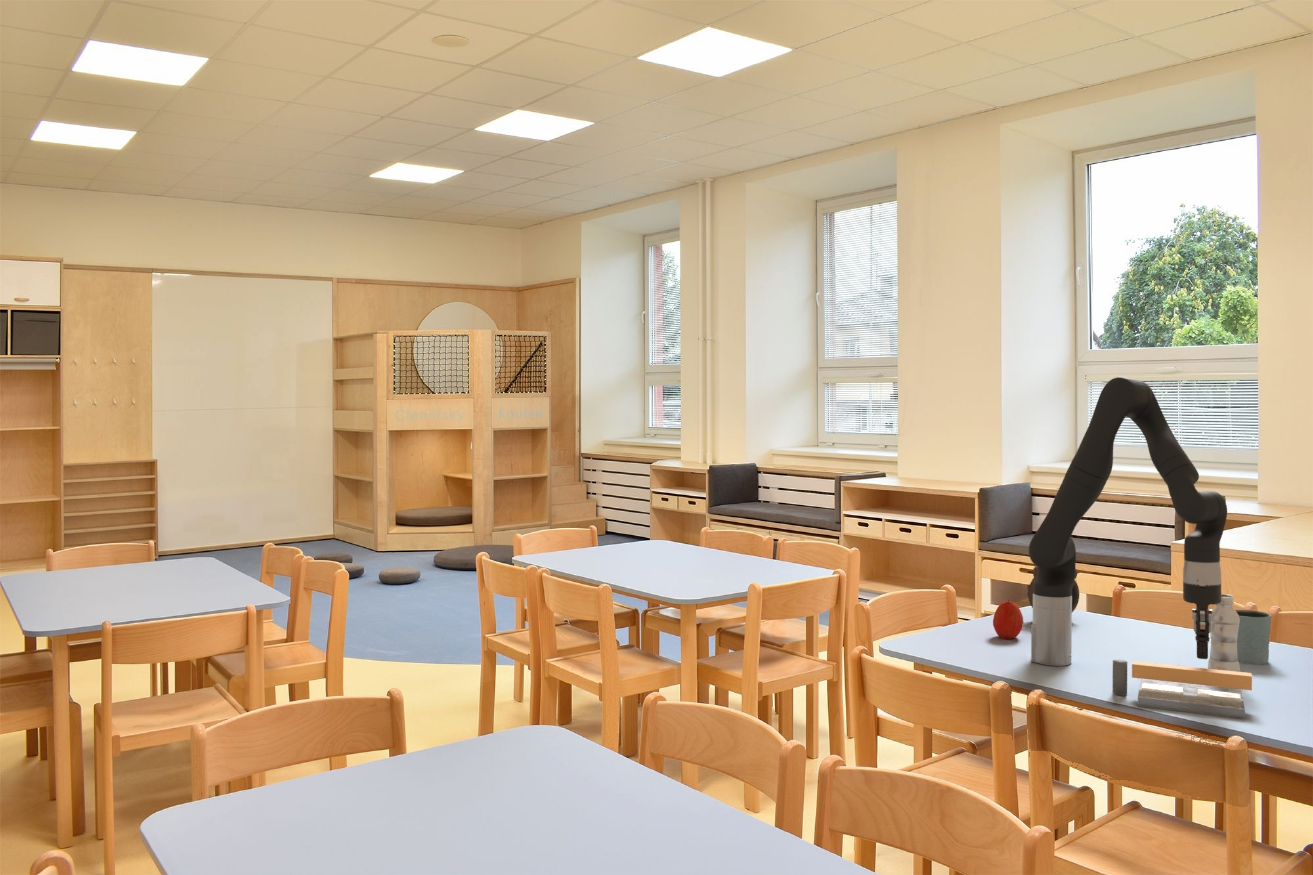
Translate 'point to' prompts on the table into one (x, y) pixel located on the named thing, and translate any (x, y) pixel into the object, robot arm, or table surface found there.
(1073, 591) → the alarm clock
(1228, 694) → the label board
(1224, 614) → the plastic bottle
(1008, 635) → the apple
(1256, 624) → the teal cup
